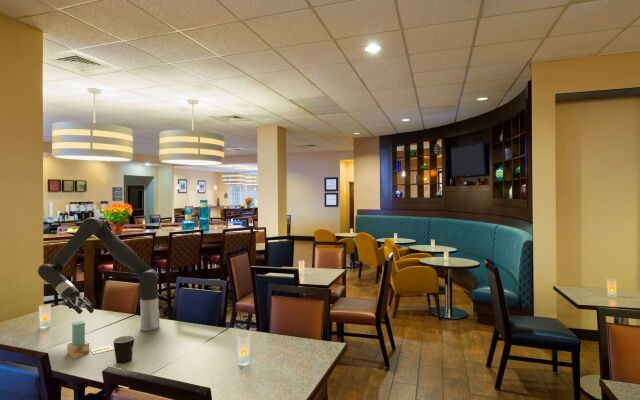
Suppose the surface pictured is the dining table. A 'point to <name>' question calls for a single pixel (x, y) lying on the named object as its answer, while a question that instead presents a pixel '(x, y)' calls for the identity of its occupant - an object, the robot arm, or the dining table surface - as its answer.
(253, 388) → the dining table surface
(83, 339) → the tall block
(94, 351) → the page
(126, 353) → the coffee mug
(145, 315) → the robot arm
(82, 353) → the base brick
